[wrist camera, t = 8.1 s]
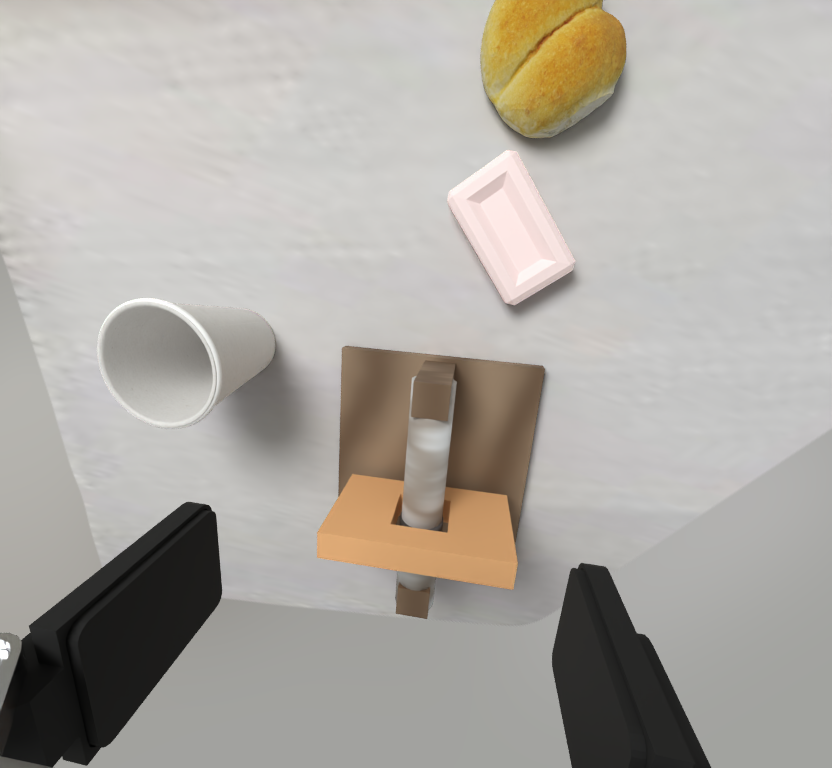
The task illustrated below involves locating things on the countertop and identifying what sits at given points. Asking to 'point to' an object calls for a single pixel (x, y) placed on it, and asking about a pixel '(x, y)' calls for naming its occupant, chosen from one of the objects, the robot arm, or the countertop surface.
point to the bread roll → (550, 62)
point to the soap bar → (510, 228)
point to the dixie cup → (180, 357)
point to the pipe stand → (436, 436)
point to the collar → (421, 534)
